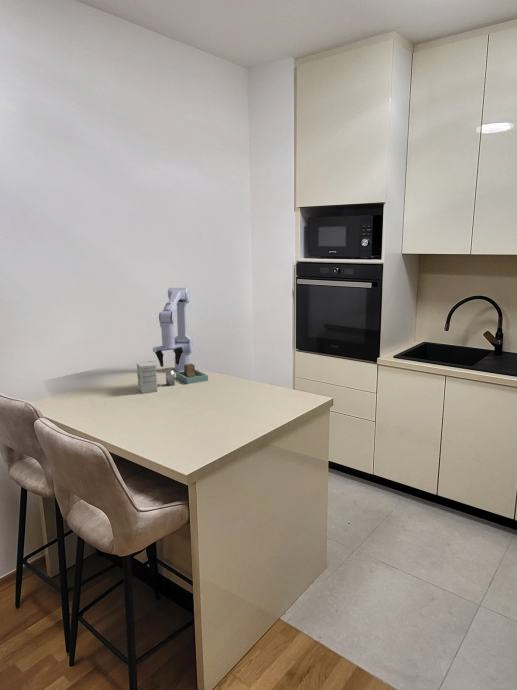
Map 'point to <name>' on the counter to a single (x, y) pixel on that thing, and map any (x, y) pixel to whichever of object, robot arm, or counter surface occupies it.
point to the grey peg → (170, 377)
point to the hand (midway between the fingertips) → (169, 365)
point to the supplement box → (147, 377)
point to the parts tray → (198, 377)
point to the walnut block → (189, 370)
